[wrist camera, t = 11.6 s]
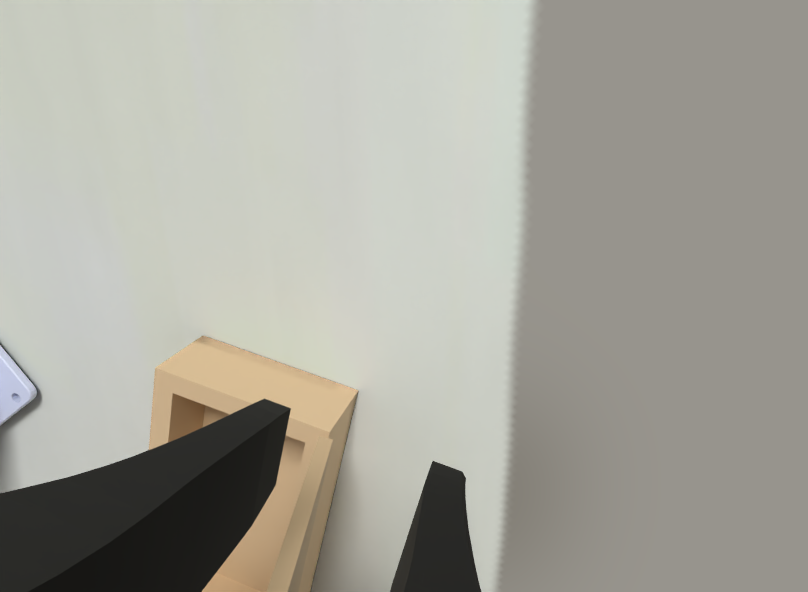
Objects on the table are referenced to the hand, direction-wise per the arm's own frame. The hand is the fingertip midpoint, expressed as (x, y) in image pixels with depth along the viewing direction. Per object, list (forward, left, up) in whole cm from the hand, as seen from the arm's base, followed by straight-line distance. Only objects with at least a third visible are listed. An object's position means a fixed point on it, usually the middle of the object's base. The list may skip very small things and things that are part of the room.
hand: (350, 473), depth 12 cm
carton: (-12, -3, -10) cm, 16 cm away
